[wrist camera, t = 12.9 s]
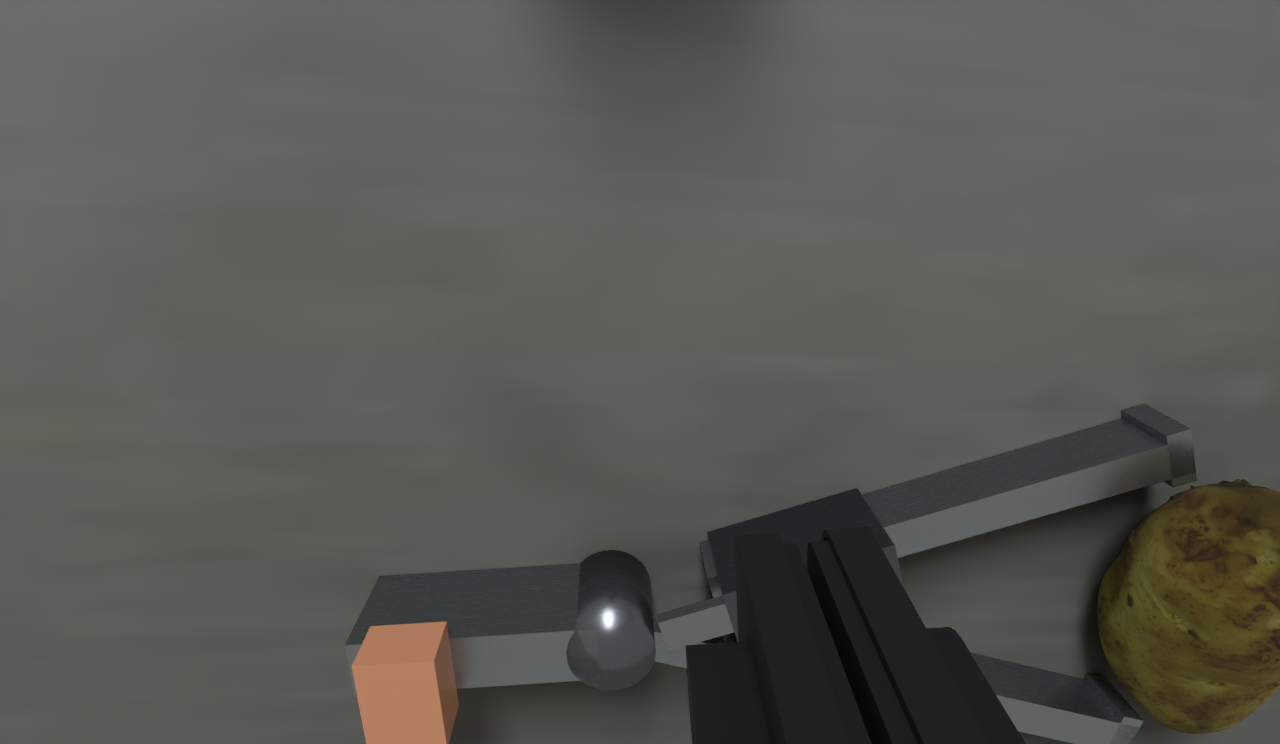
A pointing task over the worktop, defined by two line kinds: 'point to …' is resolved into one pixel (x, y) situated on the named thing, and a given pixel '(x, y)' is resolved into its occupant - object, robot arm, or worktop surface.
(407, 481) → the worktop surface
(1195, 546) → the potato
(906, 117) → the worktop surface
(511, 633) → the tongs fixed
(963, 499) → the tongs jaw
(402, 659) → the tab
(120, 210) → the worktop surface
